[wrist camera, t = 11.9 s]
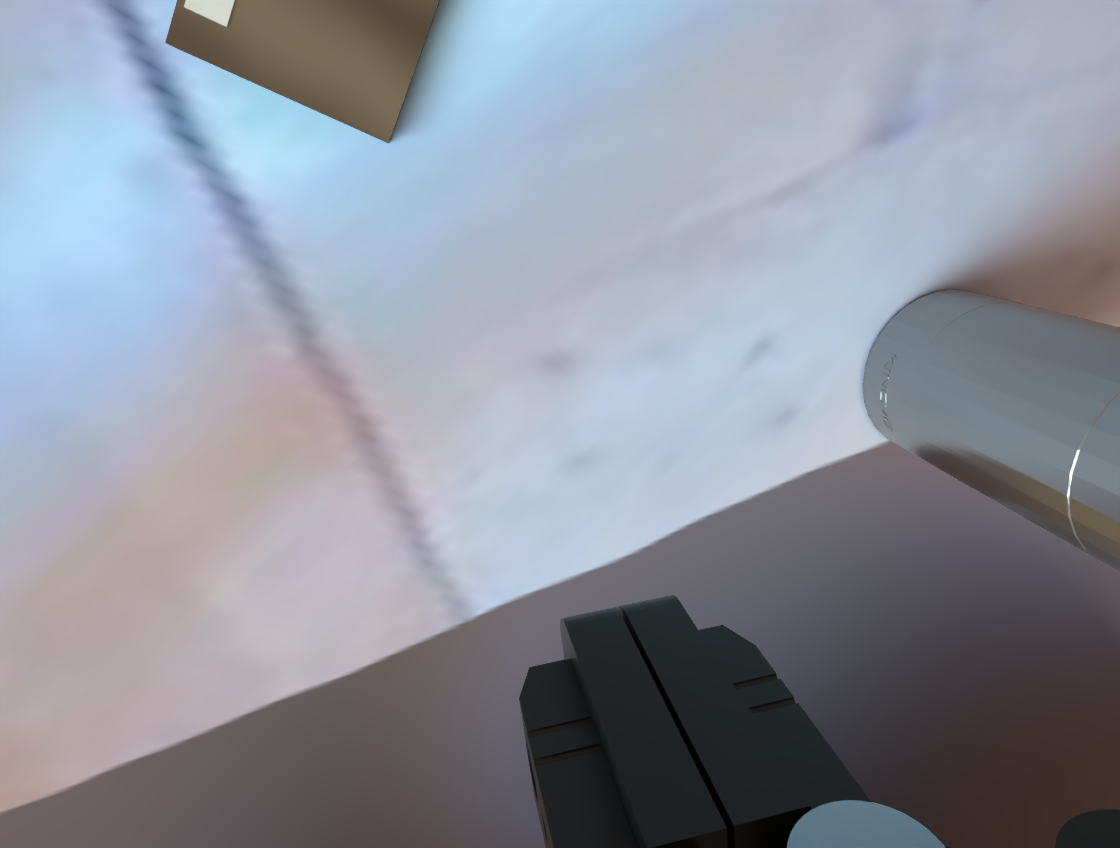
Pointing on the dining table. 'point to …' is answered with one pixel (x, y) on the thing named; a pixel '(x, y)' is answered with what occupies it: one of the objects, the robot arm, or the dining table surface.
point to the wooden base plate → (314, 51)
